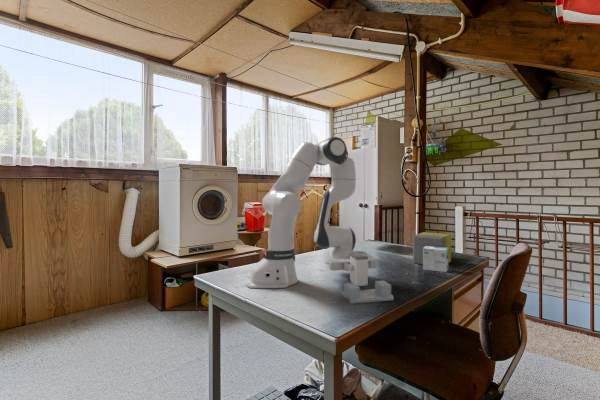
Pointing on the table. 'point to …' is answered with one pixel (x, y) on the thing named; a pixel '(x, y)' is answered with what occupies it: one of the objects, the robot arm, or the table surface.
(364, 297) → the grey flat base plate
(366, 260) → the block
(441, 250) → the light bulb box
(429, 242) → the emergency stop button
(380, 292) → the mounted modules
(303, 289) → the table surface
